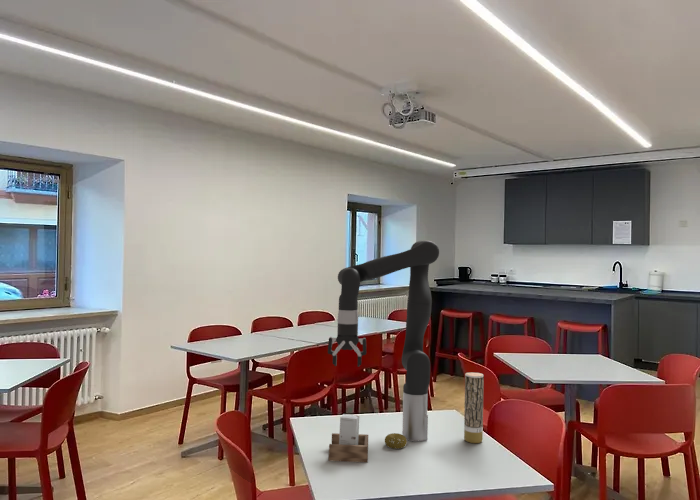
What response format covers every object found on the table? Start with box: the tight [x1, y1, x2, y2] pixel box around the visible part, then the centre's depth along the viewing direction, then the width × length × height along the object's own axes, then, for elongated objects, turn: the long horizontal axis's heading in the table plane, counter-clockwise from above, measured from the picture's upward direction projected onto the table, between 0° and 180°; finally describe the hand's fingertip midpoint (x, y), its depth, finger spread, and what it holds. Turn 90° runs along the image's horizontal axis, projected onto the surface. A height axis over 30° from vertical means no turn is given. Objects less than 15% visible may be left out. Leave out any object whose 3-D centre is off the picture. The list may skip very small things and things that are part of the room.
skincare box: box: [339, 413, 360, 445], centre depth 181 cm, size 6×4×12 cm
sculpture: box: [384, 432, 408, 450], centre depth 190 cm, size 8×4×8 cm
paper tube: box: [463, 372, 485, 444], centre depth 198 cm, size 7×7×25 cm
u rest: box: [328, 432, 369, 463], centre depth 181 cm, size 13×12×5 cm
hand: (346, 366), depth 193 cm, fingers open, 8 cm apart
